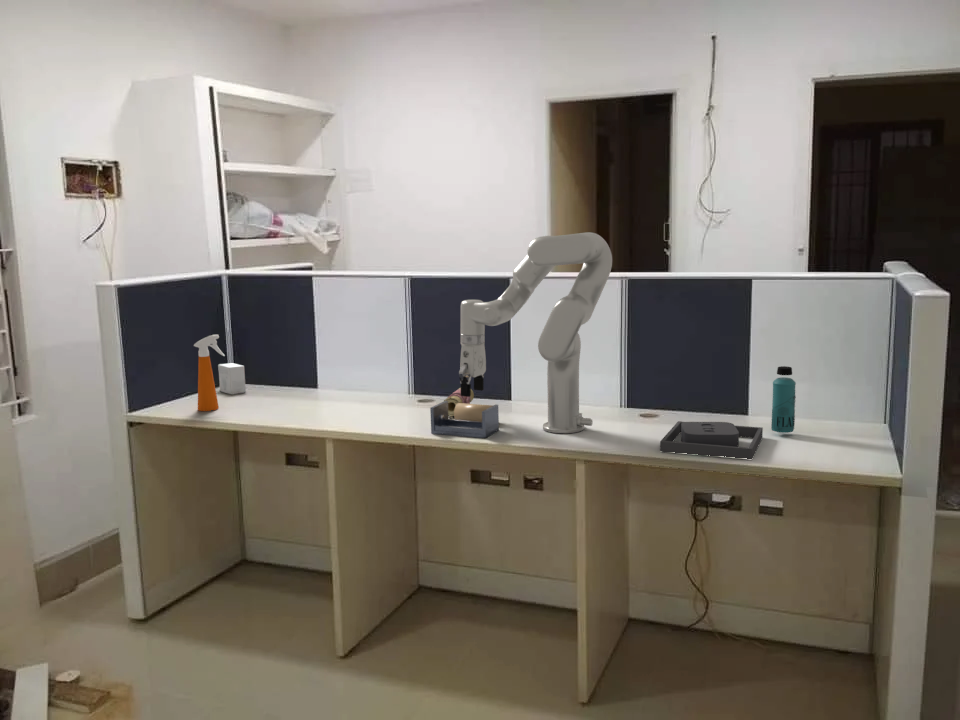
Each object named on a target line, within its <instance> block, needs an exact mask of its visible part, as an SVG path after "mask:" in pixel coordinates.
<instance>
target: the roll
mask: <svg viewBox="0 0 960 720" xmlns="http://www.w3.org/2000/svg"><path fill="white" fill-rule="evenodd" d="M492 406H493V405H491V404H478V403H477V404H475V403H470V404H466V403H457V404H456V406H455V409H454V416H453V417H454V418H453V419H457V420H469V421H481V422H482V411H484V410H486V409H488V408H490V407H492Z"/></svg>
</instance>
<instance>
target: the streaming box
mask: <svg viewBox="0 0 960 720" xmlns="http://www.w3.org/2000/svg"><path fill="white" fill-rule="evenodd" d="M682 422H683V423H681V432H680V442H681V441H682V442H685V443H697V444H709V445H721V446H733V447H740V446H739V445H740V444H739V441H740V440H739V438H740V437H739V432H738V430H737V429H736V427H735V426H736V425H735V424H734V423H732V422H728V421H682ZM734 425H735V426H734Z"/></svg>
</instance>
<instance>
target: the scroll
mask: <svg viewBox="0 0 960 720" xmlns="http://www.w3.org/2000/svg"><path fill="white" fill-rule="evenodd" d="M474 397H475V394H474V390H472V388H471V396H470V397H466V396H461V387H459V388H458V389H457V390H454V392H452V394H449V395H448V396H447V398H445V399H444V400H443V401H442V402H444V401H448V416H450V417H454V409H455V406H456V404H457V403H466V404H471V402H473V400H474Z"/></svg>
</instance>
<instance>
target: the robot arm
mask: <svg viewBox="0 0 960 720" xmlns="http://www.w3.org/2000/svg"><path fill="white" fill-rule="evenodd" d="M578 264H579V265H580V264H582V266H581V269H580V270H579V272H578V274H577V276H576V278H575V280H574V283H573V285H572V287H571V289H570V291H569V292H568V294H567V295H565V296H563V297H562V298H560V299H559V300H558V301H556V303H555V305H554V306H553V308H552V310H551V312H550V314H549V316H548V319H547V320H546V323H545V325H544V327H543V329H542V332H541V333H540V336H539V338H538V341H537V348H538V352H539V354H540V356H541V358H543V359H544V360H546V361H547V368H546V369H547V373H546V375H547V383H546V384H547V422H544V423H543V425H542V429H543V431H546V432H549V433H553V434H575V433H579V432H583V430H584V429H585V426H586V427H589V426H590V427H592V426H593V419H591V418H590V417H589V418H588V417H583V413H582V412H580V358H581V357H580V356H581V348H582V346H581V345H582V343H581V342H582V341H581V337H580V334H579V331H580V329H581V327H582V325H585V324H586V323H588V322H589V321H590V319H591V317H592V316H593V313H594V311H595V309H596V306H597V304H598V302H599V299H600V298H601V295H602V293H603V290H604V288H605V286H606V284H607V282H608V280H609V277H610V274H611V270H612V267H613V254H612V251H611V248H610V247H609V244H608V243H607V241H606V240H605V239H604V238H603V237H602V236H601V235H599V234H598V233H595V232H588V231H587V232H580V233H569V234H563V235H562V234H561V235H545V236H544V235H543V236H538V237H536V238H534V239H533V240H531V242H530V243H529V245H528V248H527V253H526V256H524V258H523V259H522V260H521V261H520V262H519V263H518V265H517V266H516V267H515V268H514V269H513V272H512V280H511V282H510V284H509V285H508V287H507V288H506V289H505V290H504V291H503V293H502V294H501V295H500V296H499V297H498V298H497V299H494V300H491V301H483V300H481V299H464V300H462V301H461V302H460V345H461V349H460V361H459V363H460V365H459V366H460V367H459V368H460V369H459V371H458V375H459V384H460V388H461V396H466V397H470V396H471V389H472V386H471V385H472V384H471V380H472V378H473V391H484V389H485V387H484V386H485V385H484V382H485V381H484V378H485V373H486V371H487V359H486V358H487V357H486V349H485V348H486V346H485V339H486V338H485V335H486V334H485V332H486V331H485V329H486V326H489V327H494V326H500V325H502V324H504V323H507V322H509V321H511V320H512V319H513V318H514V317H515V315H517V313H518V312H520V310H521V309H522V308H523V307H524V305H525V304H526V303H527V302H528V301H529V298H531V296H532V294H534V291H535V289H536V288H537V287H539V285H540V283H542V281H543V280H544V279H545V278H546V277H547V276H548V274H550V273H551V271H552V270H553V269H554V267H556V266H567V265H578Z"/></svg>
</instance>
